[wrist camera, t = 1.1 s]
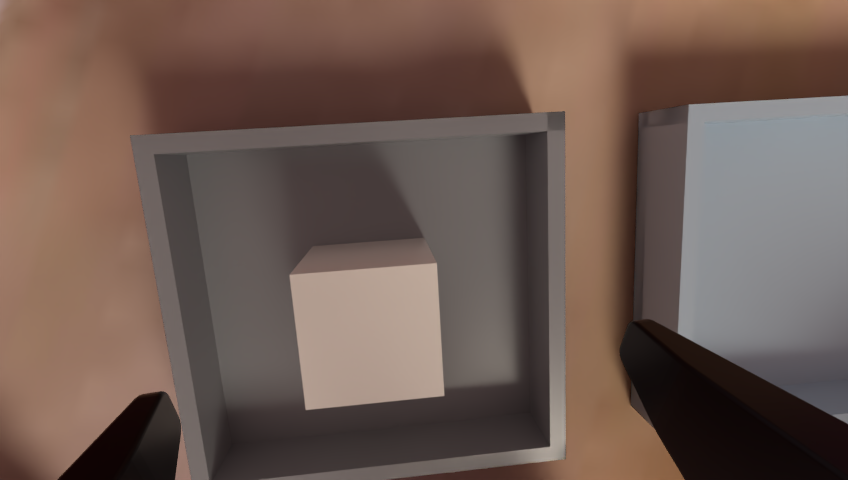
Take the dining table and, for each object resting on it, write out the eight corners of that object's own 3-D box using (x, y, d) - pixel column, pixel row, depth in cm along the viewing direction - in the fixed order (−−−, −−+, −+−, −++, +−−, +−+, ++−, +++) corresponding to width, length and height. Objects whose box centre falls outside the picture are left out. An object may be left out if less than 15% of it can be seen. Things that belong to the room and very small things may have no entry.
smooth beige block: (430, 340, 21) (444, 395, 16) (324, 350, 21) (305, 410, 16) (424, 237, 20) (436, 263, 15) (312, 246, 20) (289, 274, 15)
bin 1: (538, 414, 23) (565, 459, 20) (224, 448, 22) (195, 501, 19) (534, 119, 21) (565, 111, 17) (174, 139, 19) (129, 135, 16)
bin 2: (905, 375, 25) (989, 410, 21) (630, 405, 24) (672, 446, 20) (948, 95, 22) (1052, 84, 19) (638, 113, 21) (688, 104, 17)
